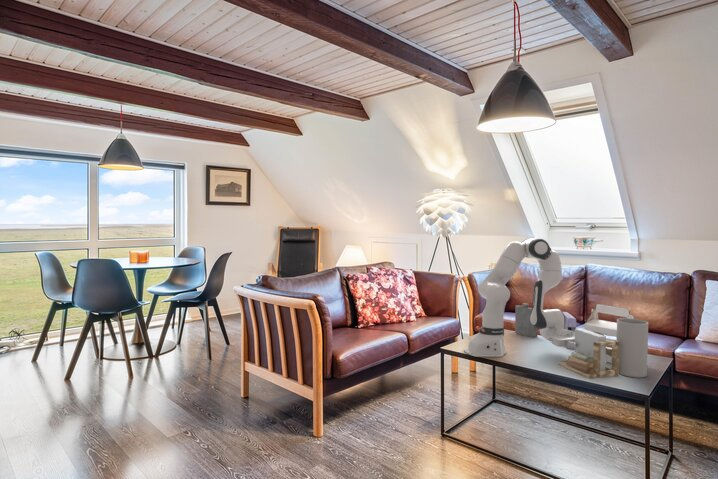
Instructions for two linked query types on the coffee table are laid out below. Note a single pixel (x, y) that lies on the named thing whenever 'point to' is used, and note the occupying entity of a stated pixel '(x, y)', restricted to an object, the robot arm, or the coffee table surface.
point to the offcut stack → (581, 362)
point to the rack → (596, 361)
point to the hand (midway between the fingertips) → (582, 344)
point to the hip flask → (524, 321)
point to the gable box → (606, 323)
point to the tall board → (590, 344)
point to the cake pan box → (570, 325)
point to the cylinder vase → (632, 347)
